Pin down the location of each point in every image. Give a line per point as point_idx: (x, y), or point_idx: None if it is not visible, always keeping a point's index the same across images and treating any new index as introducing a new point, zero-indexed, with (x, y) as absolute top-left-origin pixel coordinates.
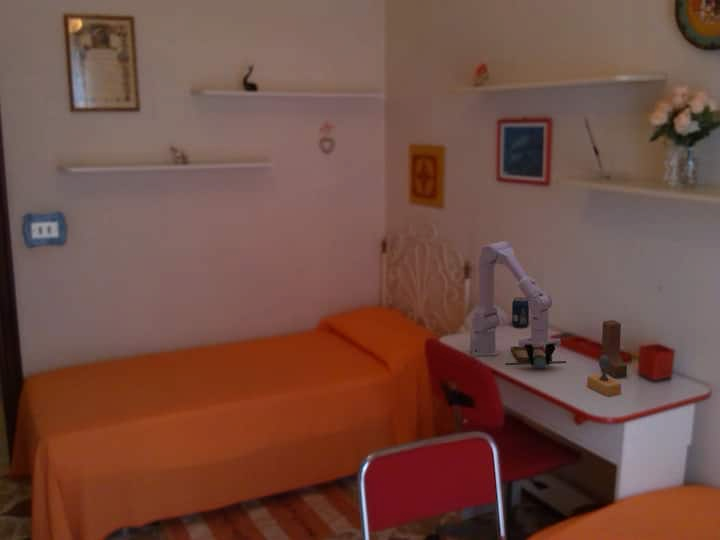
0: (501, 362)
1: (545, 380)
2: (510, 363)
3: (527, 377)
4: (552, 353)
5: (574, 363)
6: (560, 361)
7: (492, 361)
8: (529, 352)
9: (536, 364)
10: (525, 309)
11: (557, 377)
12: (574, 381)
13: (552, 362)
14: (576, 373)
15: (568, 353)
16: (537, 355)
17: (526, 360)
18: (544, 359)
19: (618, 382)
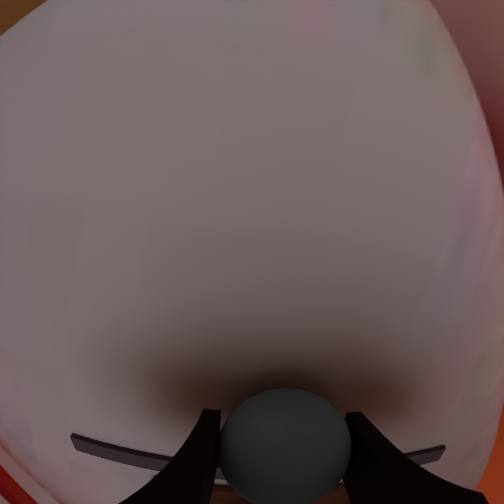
0: (438, 468)
1: (332, 119)
2: (419, 460)
3: (450, 230)
4: (143, 487)
5: (33, 411)
6: (103, 455)
7: (460, 470)
8: (448, 489)
9: (331, 408)
10: None
11: (187, 175)
12: (82, 69)
13: (154, 459)
14: (22, 249)
15: (71, 498)
16: (311, 495)
17: None
18: (247, 449)
19: None
